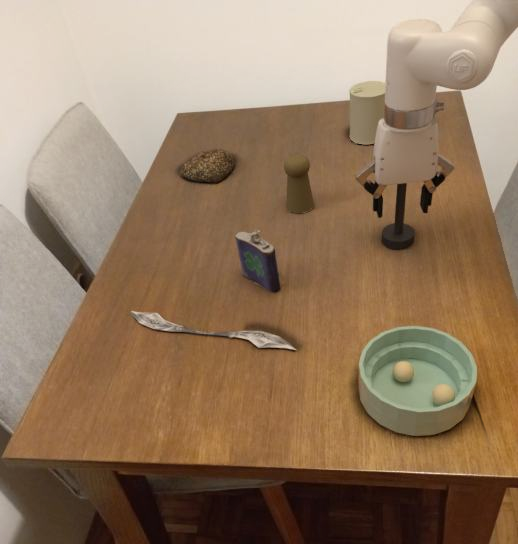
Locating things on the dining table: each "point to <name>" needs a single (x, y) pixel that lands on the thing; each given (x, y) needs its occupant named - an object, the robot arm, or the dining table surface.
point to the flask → (258, 260)
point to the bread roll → (209, 166)
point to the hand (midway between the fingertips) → (401, 210)
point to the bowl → (416, 380)
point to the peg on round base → (398, 225)
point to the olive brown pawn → (298, 184)
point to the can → (366, 110)
